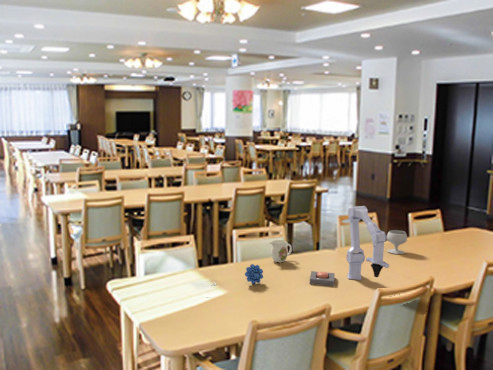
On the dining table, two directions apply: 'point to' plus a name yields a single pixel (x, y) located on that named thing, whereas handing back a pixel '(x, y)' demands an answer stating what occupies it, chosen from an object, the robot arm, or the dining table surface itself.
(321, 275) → the button
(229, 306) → the dining table surface
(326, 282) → the button housing
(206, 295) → the paper
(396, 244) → the chalice
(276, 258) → the pitcher
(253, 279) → the grapes
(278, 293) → the dining table surface
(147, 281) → the dining table surface
